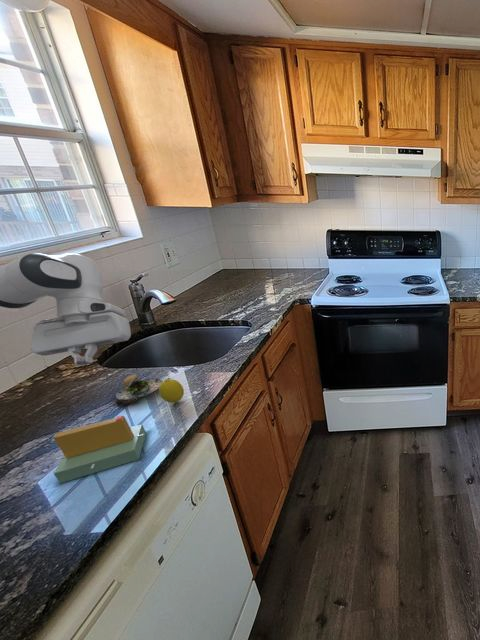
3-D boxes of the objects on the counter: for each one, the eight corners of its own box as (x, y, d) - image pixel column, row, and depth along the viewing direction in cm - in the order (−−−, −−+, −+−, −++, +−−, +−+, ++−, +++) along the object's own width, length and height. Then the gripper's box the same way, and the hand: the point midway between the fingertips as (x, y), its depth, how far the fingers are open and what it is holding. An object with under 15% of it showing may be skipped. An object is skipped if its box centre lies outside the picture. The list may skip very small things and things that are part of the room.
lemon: (180, 395, 111) (171, 372, 107) (191, 399, 108) (182, 376, 105) (160, 405, 106) (150, 382, 103) (171, 410, 104) (161, 386, 100)
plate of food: (136, 406, 106) (126, 385, 103) (106, 402, 108) (94, 380, 105) (174, 384, 116) (165, 364, 113) (145, 381, 119) (136, 361, 116)
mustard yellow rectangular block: (66, 458, 83) (53, 437, 80) (69, 453, 84) (56, 432, 82) (132, 439, 88) (121, 419, 85) (133, 435, 90) (123, 414, 87)
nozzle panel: (49, 493, 78) (41, 483, 76) (73, 448, 90) (67, 438, 89) (143, 464, 85) (137, 454, 83) (153, 426, 98) (148, 416, 96)
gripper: (22, 318, 91) (23, 371, 88) (116, 302, 96) (120, 352, 93) (44, 325, 97) (46, 375, 94) (132, 310, 102) (136, 357, 99)
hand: (83, 363), depth 93 cm, fingers closed
